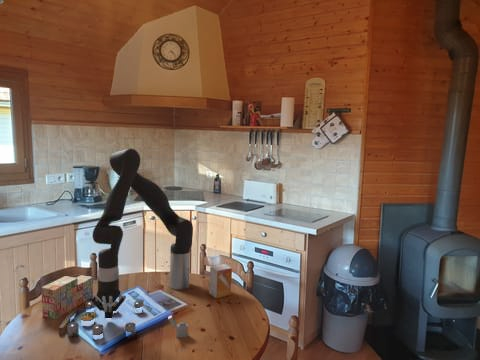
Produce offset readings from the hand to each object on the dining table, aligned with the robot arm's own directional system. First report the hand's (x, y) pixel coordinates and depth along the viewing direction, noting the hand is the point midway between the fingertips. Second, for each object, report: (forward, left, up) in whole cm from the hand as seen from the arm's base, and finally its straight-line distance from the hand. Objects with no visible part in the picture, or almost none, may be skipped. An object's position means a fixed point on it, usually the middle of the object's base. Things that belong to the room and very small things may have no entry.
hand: (108, 320), depth 142 cm
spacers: (0, +1, -1) cm, 2 cm away
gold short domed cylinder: (+8, 0, -1) cm, 8 cm away
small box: (-44, -24, -1) cm, 50 cm away
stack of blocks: (+19, -13, -1) cm, 24 cm away
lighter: (-27, +11, -1) cm, 29 cm away
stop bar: (+15, +1, -1) cm, 15 cm away
